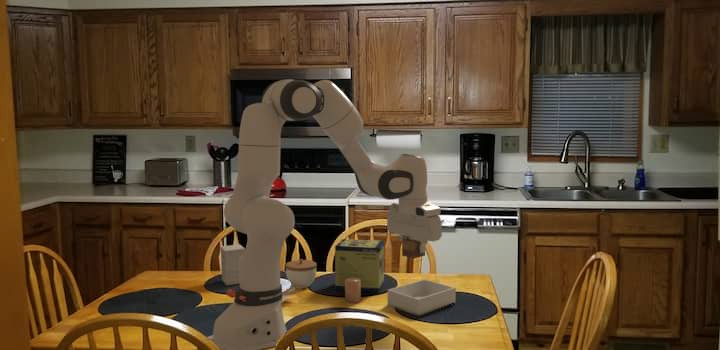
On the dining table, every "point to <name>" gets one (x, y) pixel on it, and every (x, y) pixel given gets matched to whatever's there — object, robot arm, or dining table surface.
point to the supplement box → (231, 263)
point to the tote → (421, 296)
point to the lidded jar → (301, 272)
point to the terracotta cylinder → (352, 290)
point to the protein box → (360, 263)
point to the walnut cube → (411, 248)
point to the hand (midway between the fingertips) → (413, 250)
